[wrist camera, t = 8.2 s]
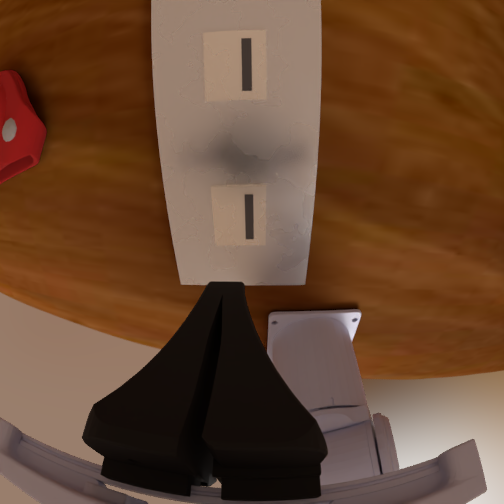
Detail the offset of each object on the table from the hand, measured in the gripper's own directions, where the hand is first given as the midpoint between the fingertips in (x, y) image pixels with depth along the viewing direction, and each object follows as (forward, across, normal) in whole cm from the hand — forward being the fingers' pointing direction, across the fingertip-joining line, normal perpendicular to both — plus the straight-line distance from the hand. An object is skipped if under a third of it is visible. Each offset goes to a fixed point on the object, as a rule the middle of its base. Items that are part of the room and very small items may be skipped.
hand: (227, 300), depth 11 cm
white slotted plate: (+8, 0, -4) cm, 10 cm away
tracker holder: (+9, +19, -8) cm, 23 cm away
